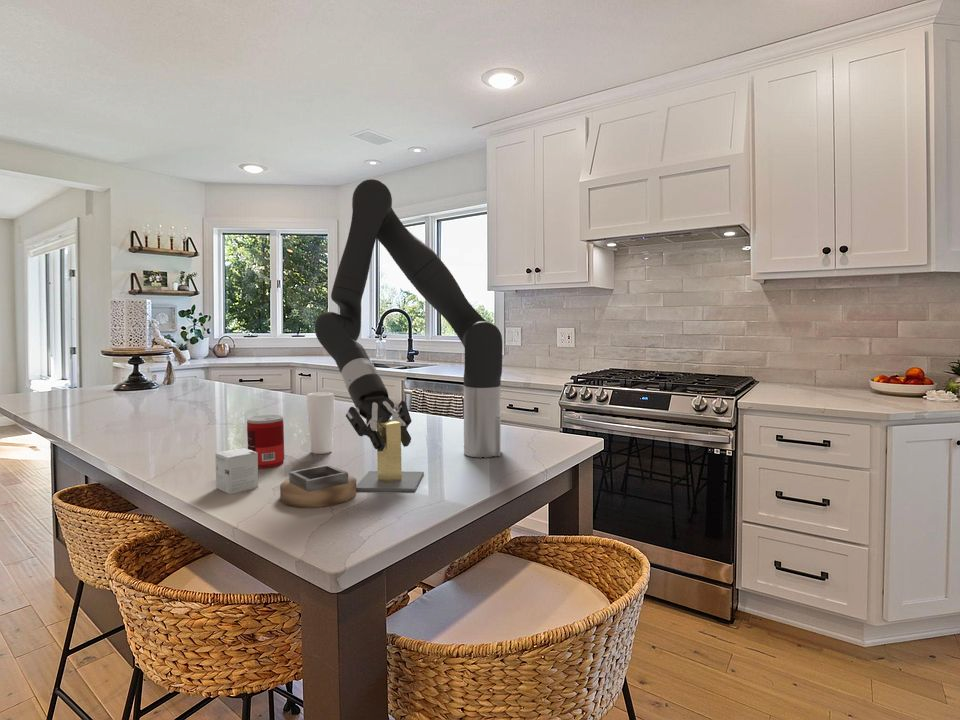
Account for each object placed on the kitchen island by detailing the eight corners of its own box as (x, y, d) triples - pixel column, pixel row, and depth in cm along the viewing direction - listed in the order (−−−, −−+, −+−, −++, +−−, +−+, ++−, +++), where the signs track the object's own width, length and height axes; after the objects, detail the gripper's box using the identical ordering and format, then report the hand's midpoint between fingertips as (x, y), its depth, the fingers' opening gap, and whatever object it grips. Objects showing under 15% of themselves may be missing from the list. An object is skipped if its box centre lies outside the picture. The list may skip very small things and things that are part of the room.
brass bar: (391, 475, 115) (390, 420, 115) (401, 479, 113) (400, 422, 112) (377, 479, 113) (376, 422, 112) (387, 483, 111) (386, 424, 110)
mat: (423, 474, 119) (423, 471, 119) (414, 491, 107) (414, 488, 107) (369, 473, 119) (369, 471, 119) (354, 490, 107) (354, 487, 107)
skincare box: (215, 488, 109) (214, 452, 109) (245, 481, 114) (244, 447, 113) (229, 494, 105) (228, 457, 105) (259, 487, 110) (258, 451, 109)
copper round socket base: (335, 480, 115) (334, 459, 114) (370, 496, 104) (369, 472, 104) (268, 494, 105) (267, 471, 105) (299, 513, 95) (299, 488, 95)
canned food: (291, 461, 130) (290, 415, 129) (268, 470, 123) (266, 421, 122) (265, 458, 133) (263, 413, 132) (240, 467, 125) (239, 419, 124)
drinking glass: (339, 449, 142) (338, 392, 141) (329, 455, 135) (328, 395, 134) (314, 448, 143) (312, 391, 142) (303, 455, 136) (301, 395, 135)
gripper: (339, 374, 112) (371, 441, 104) (398, 370, 122) (431, 431, 114) (328, 397, 116) (357, 463, 109) (385, 391, 126) (416, 451, 118)
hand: (395, 446), depth 111 cm, fingers open, 5 cm apart
